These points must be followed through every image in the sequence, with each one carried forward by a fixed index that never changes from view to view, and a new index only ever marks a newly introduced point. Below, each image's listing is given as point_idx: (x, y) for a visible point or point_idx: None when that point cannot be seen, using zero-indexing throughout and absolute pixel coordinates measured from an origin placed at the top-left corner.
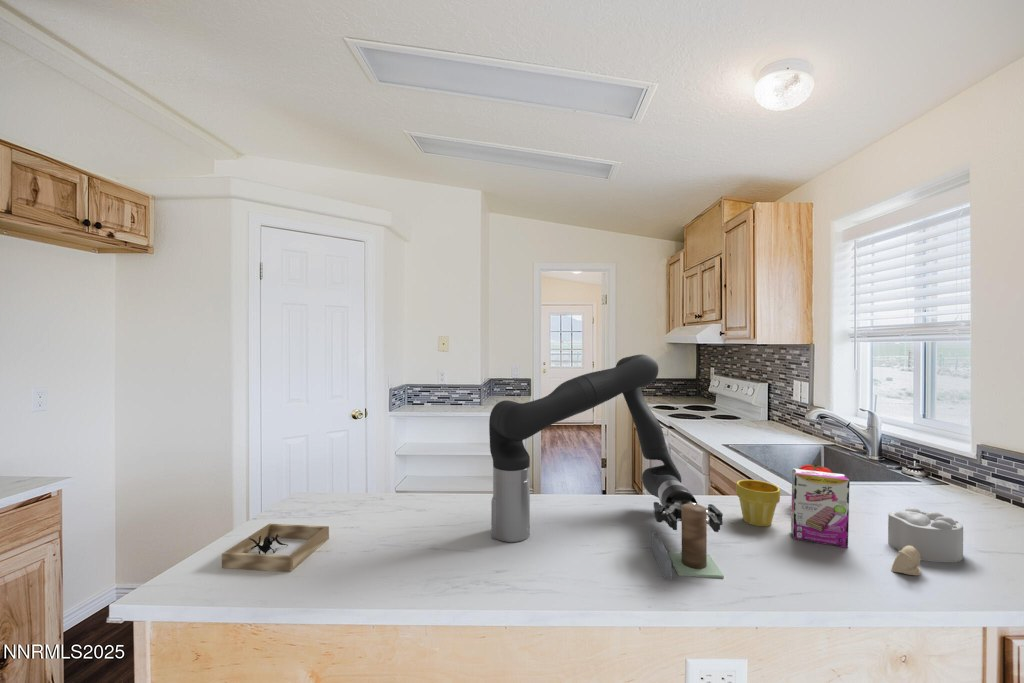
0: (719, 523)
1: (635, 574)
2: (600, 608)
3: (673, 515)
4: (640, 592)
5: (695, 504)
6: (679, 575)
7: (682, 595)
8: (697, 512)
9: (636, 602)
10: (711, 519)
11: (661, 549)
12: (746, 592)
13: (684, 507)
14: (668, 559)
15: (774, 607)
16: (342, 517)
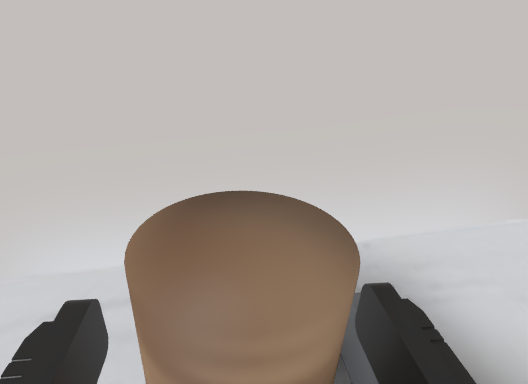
0: (47, 323)
1: None
2: (446, 232)
3: (417, 363)
4: (400, 279)
5: (196, 315)
6: None
7: None
8: (239, 191)
9: (394, 251)
10: (62, 380)
11: None
12: (119, 321)
13: (330, 237)
14: (358, 299)
15: (93, 275)
16: None
